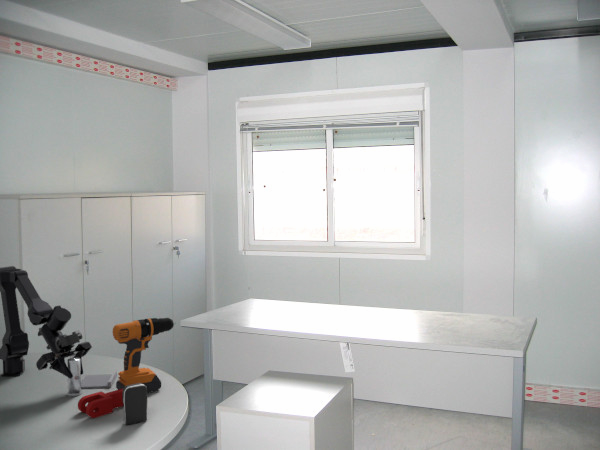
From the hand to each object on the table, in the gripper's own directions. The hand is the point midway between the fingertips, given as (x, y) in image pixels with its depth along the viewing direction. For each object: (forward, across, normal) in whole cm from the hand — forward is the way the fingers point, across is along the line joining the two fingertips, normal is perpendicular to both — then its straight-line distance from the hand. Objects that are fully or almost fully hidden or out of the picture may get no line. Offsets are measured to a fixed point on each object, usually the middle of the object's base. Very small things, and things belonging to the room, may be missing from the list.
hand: (77, 375), depth 198 cm
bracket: (+2, +12, +8) cm, 14 cm away
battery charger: (+27, -5, -18) cm, 33 cm away
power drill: (+16, +16, -6) cm, 23 cm away
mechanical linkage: (+17, -3, -7) cm, 19 cm away
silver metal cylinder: (+4, 0, +6) cm, 7 cm away
